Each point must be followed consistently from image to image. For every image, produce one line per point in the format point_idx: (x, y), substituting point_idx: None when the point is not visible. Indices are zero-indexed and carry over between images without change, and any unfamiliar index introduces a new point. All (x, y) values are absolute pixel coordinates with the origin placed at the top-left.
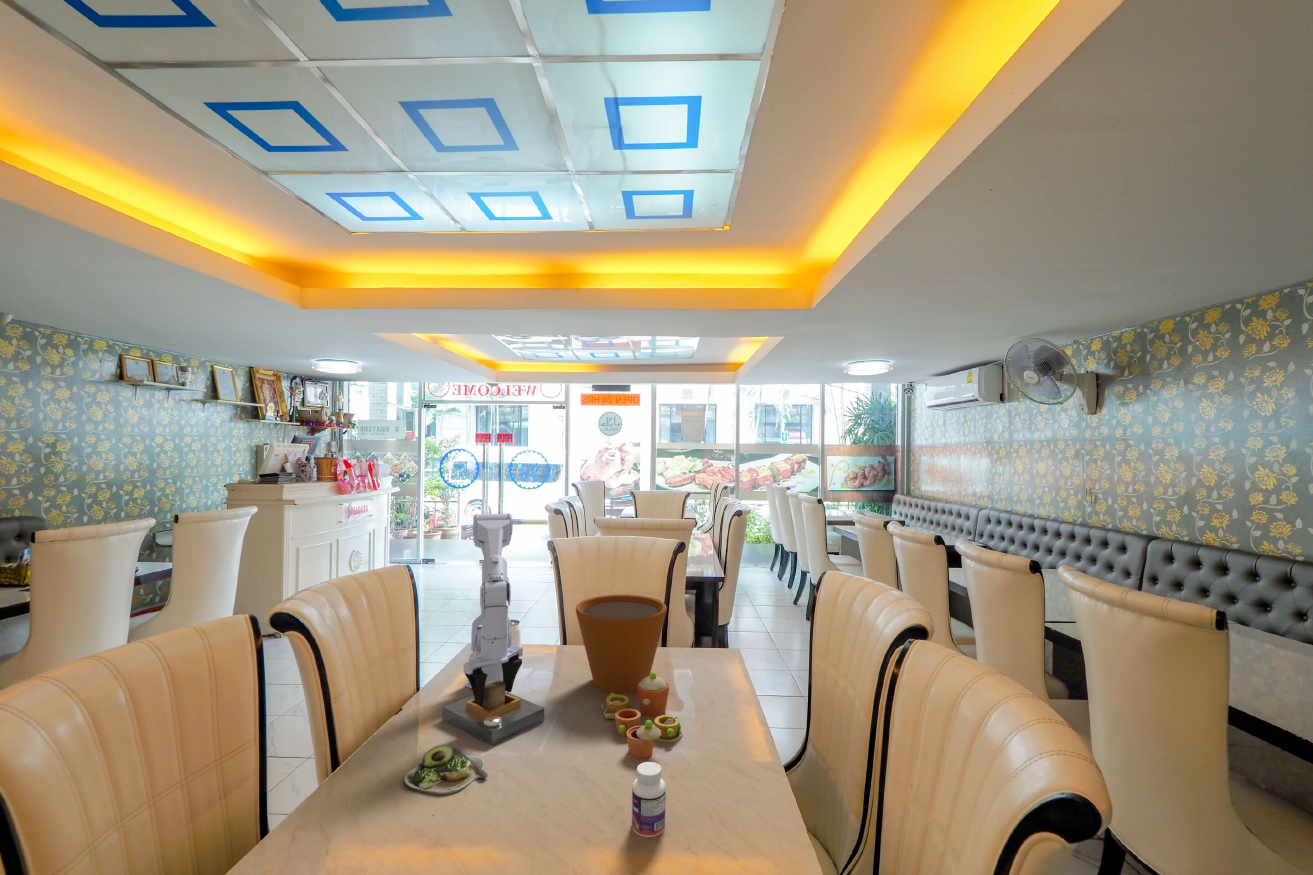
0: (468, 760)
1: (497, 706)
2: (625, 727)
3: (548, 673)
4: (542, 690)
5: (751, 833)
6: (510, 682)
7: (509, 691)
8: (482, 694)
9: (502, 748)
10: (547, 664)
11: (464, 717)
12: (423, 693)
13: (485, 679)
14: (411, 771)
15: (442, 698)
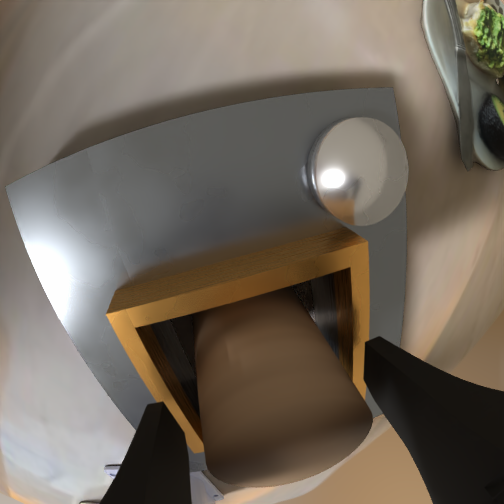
0: (463, 44)
1: (271, 313)
2: None
3: (11, 455)
4: (18, 407)
5: None
6: (156, 453)
7: (162, 404)
8: (411, 365)
9: (325, 46)
10: (19, 477)
11: (401, 313)
12: (314, 484)
13: (484, 431)
14: None
15: None
